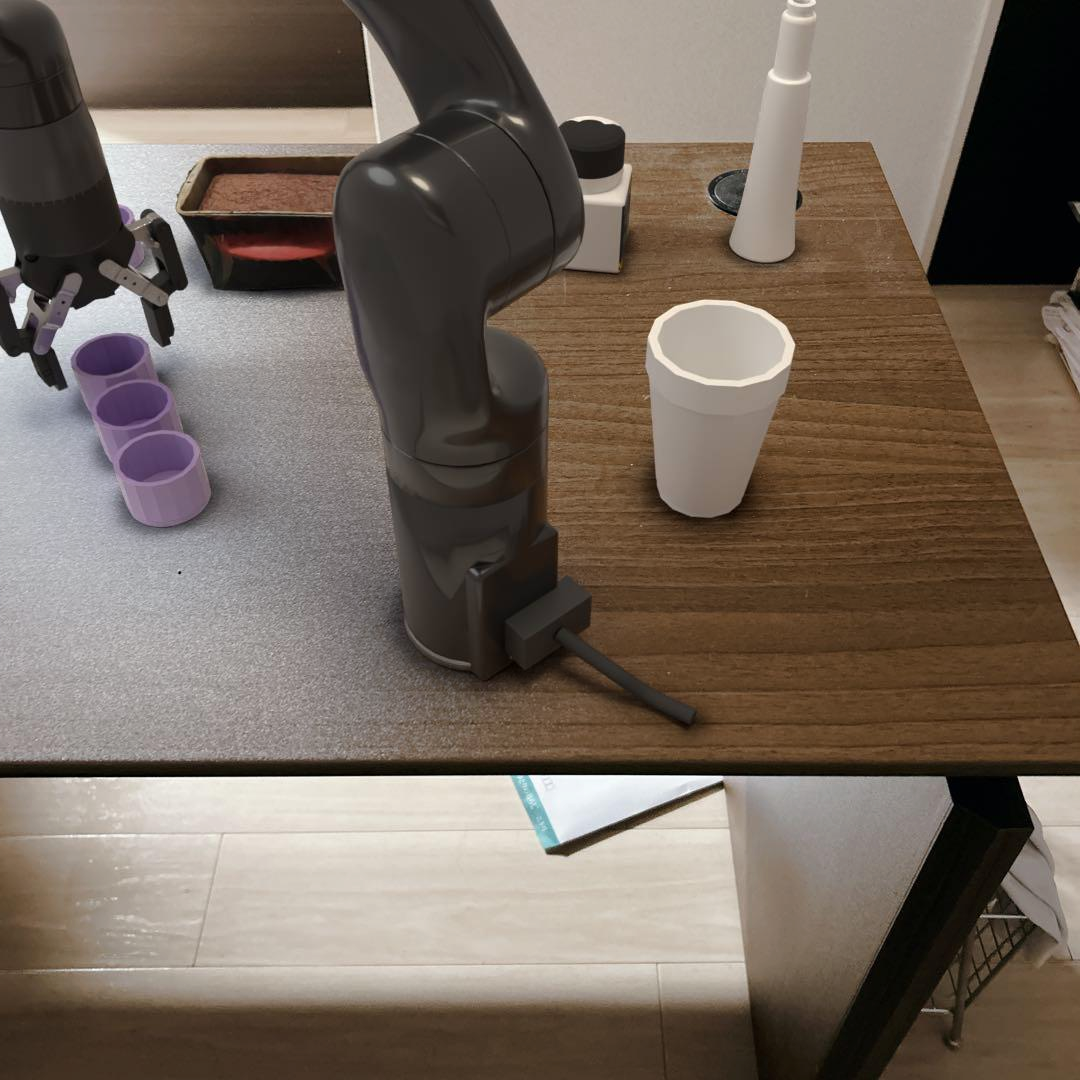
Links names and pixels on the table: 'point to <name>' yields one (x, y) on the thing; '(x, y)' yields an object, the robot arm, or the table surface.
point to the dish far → (138, 250)
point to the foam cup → (713, 399)
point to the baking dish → (264, 219)
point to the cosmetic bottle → (778, 145)
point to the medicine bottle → (600, 190)
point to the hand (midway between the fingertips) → (111, 362)
